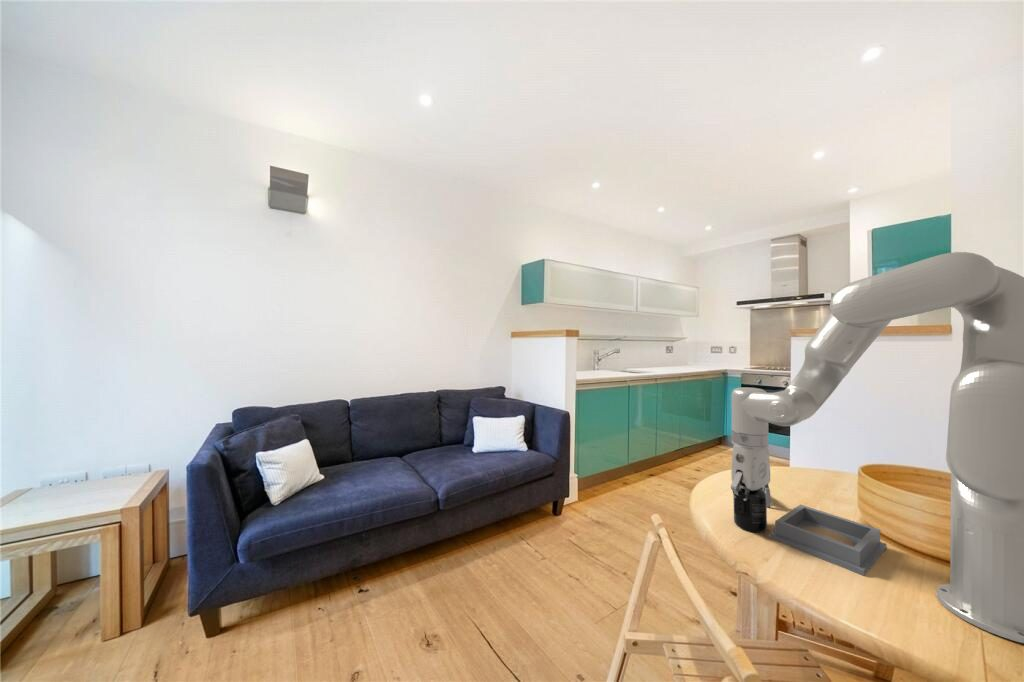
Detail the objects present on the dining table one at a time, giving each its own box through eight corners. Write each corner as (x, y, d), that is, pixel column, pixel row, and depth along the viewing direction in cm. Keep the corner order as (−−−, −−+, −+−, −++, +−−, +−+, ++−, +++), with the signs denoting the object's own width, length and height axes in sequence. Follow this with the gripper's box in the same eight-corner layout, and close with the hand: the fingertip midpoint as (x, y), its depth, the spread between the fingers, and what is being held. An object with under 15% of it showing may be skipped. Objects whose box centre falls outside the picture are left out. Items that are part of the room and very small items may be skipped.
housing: (886, 548, 79) (886, 530, 79) (864, 575, 70) (864, 555, 70) (797, 517, 92) (797, 502, 92) (769, 537, 84) (769, 520, 84)
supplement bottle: (766, 523, 90) (766, 475, 90) (767, 536, 84) (767, 485, 84) (733, 516, 94) (733, 470, 93) (733, 528, 88) (732, 479, 88)
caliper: (770, 509, 98) (770, 485, 98) (766, 508, 98) (766, 485, 98) (746, 480, 117) (746, 460, 117) (742, 479, 118) (742, 460, 118)
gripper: (749, 449, 81) (749, 528, 81) (782, 436, 90) (782, 507, 90) (715, 441, 87) (715, 514, 87) (749, 430, 96) (749, 496, 97)
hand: (749, 510), depth 89 cm, fingers closed on supplement bottle, 6 cm apart
